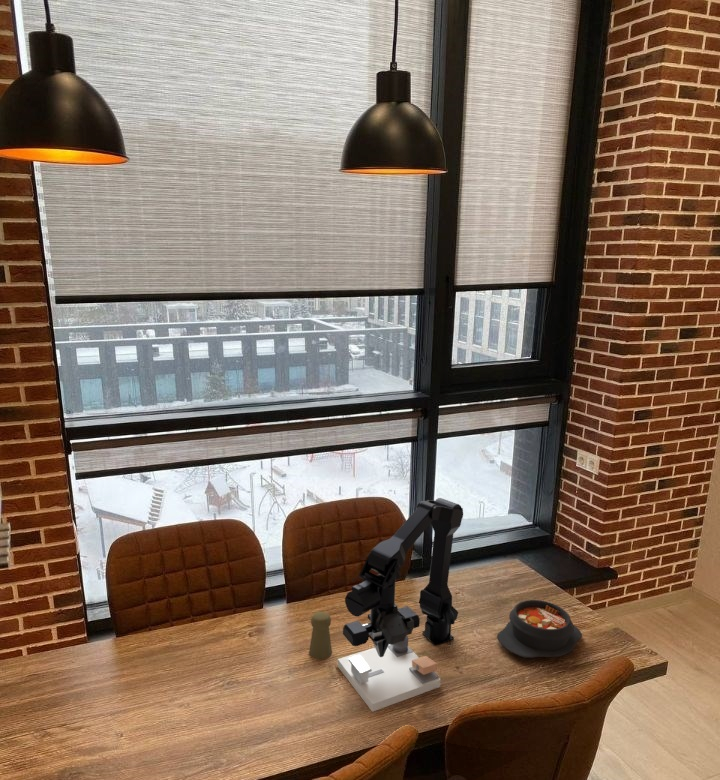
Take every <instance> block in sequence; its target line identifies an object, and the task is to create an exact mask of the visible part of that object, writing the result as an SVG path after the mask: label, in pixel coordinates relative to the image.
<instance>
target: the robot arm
mask: <svg viewBox="0 0 720 780" xmlns="http://www.w3.org/2000/svg"><path fill="white" fill-rule="evenodd" d="M463 517H464V508H463V507H462V506H461V505H460V504H459V503H457V502H456V503H455V502H454V501H450V500H448V499H444V498H441V497H438V498H436V499H435V500H434V499H432V500H431V499H427V500H421V501H419V502H418V504H417V506H416V509H415V510H414V511H413V512H412V513H411V515H410V516H409V517H408V518H407V519H406V520H405V521H404V522H403V524H401V526H400V527H399V528H398V529H397V531H396V532H395V533H394V534H393V535H392V536H391V537H390V538H389V539H386V540H382V541H379V543H377V544H376V546H373V548H372V549H371V550H370V552H369V553H368V554H367V557H366V559H365V562H364V564H363V566H362V569H360V571H359V572H360V573H359V574H358V577H359V578H360V579H362V580H363V581H362V582H360V583H359V584H355V585H353V586H352V587H351V591H350V590H349V592H347V593H346V595H345V597H344V603H345V607H346V609H347V611H348V612H349V613H350V614H351V615H352V616H353V617H361V616H362V615H365V614H366V613H368V612H370V613H368V614H367V619H368V620H369V621H370V622H368V623H365V624H362V623H361V622H360V621H359V620H356V621H352V622H348V623H345V624H344V625H343V627H342V635H343V636H344V637H345V639H346V640H347V641H348V642H349V643H350V645H352V646H353V647H359V646H362V645H365V644H367V642H368V641H369V639H370V641H372V644H373V645H374V646H373V647H374V648H376V651H377V653H378V655H379V657H383V656H384V654H385V651H386V649H387V647H388V645H389V644H390V645H393V644H395V643H398V642H402V641H404V640H405V638H406V636H408V635H411V634H413V630H414V629H416V628H419V627H420V622H421V619H420V617H419V615H418V614H417V613H416V612H415V611H414V610H413V609H412V608H411V607H410V606H402V607H400V608H398V605H397V604H396V603H395V602H396V601H395V600H396V581H397V580H399V579H401V577H402V574H401V573H400V570H401V569H402V568H403V566H404V564H405V562H406V554H407V552H408V551H409V550H410V549H411V547H412V546H413V545H414V544H415V543H416V541H417V540H419V538H420V537H421V536H422V534H423V533H424V532H425V530H427V528H428V527H429V526H430V525H431V527H432V529H433V531H434V534H433V545H432V550H431V551H432V553H431V563H430V568H429V569H430V570H429V580H428V584H427V585H426V586H425V587H424V588H423V589H421V590H420V592H419V600H418V604H419V608H420V610H421V614H423V615H426V621H425V623H424V630H422V635H423V636H424V637H425V638H426V639H428V641H429V642H431V644H432V645H434V646H439V645H442V644H445V643H447V642H450V641H454V640H455V637H454V636H453V635H452V634H451V633H452V632H451V631H452V625H454V624H455V623H456V622H455V621H456V620H457V618H458V615H459V611H458V610H457V609H456V608H455V607H454V606H453V595H452V593H451V591H450V588H449V586H448V582H449V574H450V565H451V558H452V549H453V540H454V539H453V538H454V534H455V533H456V532H457V530H458V529H460V527H461V525H462V520H463ZM371 570H372V571H374V572H375V573H377V574H375V573H372V572H371Z"/></svg>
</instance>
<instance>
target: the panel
mask: <svg viewBox="0 0 720 780" xmlns="http://www.w3.org/2000/svg"><path fill="white" fill-rule="evenodd" d="M358 655H360V656H361V657H362V658H363V660H364V661H365V662H366V663H367V664H368V666H369V667H370V668H371V669H372V671H371V672H369V674H368V682H366V683H364V684H360V683H359V681H358V680H357V679H356V678H355V676H354V675H353V674H352V672H351V663H350V662H349V658H352V657H355V656H358ZM417 658H420V657H419V656H418V655H417V654H416V653H415V652H414V651H413V649H412V648H411V647H410V646H408V650H407V651H406V652H404V653H398V652H395V651H394V650H393V645H390V644H389V645H388V647H387V649H386V651H385V654H384V656H383V657H379V655H378V653H377V651H376V648H375V647H372V648H369V649H366V650H361V651H359V652H356V653H353V654H350V655H346V656H343V657H340V658H337V667H338V669H339V670H340V672H341V673H342V674H343V676H344V677H345V678H346V679H347V681H349V683H350V684H351V686H352V687H353V688H354V690H355V691H356V693H357V694H358V695H359V697H361V699H362V700H363V702H364V703H365V704H366V705H367V707H368V708H369V710H370V711H371V712H372V713H373V712H376V711H378V710H381V709H384V708H386V707H389V706H392V705H394V704H397V703H400V702H403V701H406V700H408V699H410V698H413V697H417V696H419V695H422V694H425V693H427V692H430V691H432V690H436V689H438V688H441V681H442V680H441V678H440V675H439V674H438V673H436V671H433V672H430V673H427V674H424V675H423V674H422V673H420V672H419V671H418V670H416V669H415V668H413V667H412V660H414V659H417Z"/></svg>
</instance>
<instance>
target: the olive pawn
mask: <svg viewBox="0 0 720 780" xmlns="http://www.w3.org/2000/svg"><path fill="white" fill-rule="evenodd" d="M310 623H311V626H312V631H311V638H310V643H309V644H310V645H309V648H308V649H309V650H308V654H309V656H310V657H311V658H312V659H315V660H318V661H319V660H321V661H322V660H326V659H329V658H330V657H331V656H332V654H333V651H332V648H333V647H332V642H331V634H330V633H331V632H330V627H331V623H332V617H331V615H330V614H329V613H328V612H326V611H317V612H314V613H313V615H312V616H311V619H310Z"/></svg>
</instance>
